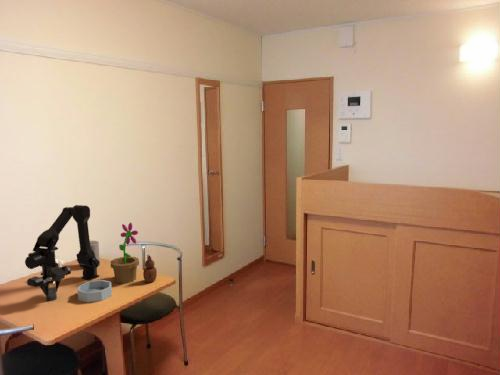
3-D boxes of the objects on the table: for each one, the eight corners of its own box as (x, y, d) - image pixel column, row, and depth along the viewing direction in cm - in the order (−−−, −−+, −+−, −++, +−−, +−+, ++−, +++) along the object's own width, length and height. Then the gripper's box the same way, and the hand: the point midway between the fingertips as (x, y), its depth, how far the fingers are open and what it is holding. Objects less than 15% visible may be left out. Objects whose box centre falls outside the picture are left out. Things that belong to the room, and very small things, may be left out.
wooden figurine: (149, 284, 200) (148, 256, 198) (141, 282, 203) (140, 254, 201) (159, 280, 206) (158, 252, 204) (151, 278, 209) (150, 250, 207)
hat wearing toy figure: (64, 275, 213) (62, 254, 211) (64, 277, 209) (63, 256, 207) (45, 278, 208) (43, 256, 207) (45, 281, 205) (43, 258, 203)
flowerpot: (145, 277, 210) (143, 222, 205) (125, 287, 197) (122, 228, 193) (125, 273, 216) (123, 219, 212) (105, 282, 204) (101, 225, 199)
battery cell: (52, 296, 187) (51, 276, 185) (59, 298, 185) (57, 278, 183) (44, 300, 183) (42, 280, 181) (50, 301, 181) (48, 281, 179)
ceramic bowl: (96, 287, 197) (95, 278, 197) (118, 292, 191) (117, 283, 190) (71, 298, 184) (71, 289, 184) (94, 304, 178) (93, 294, 177)
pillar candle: (78, 268, 224) (76, 242, 221) (87, 262, 233) (86, 237, 231) (94, 269, 222) (92, 243, 220) (103, 263, 231) (102, 238, 229)
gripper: (41, 270, 169) (44, 305, 171) (77, 258, 186) (80, 289, 188) (24, 266, 174) (27, 300, 176) (61, 254, 191) (63, 285, 193)
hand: (51, 293), depth 183 cm, fingers closed on battery cell, 4 cm apart
